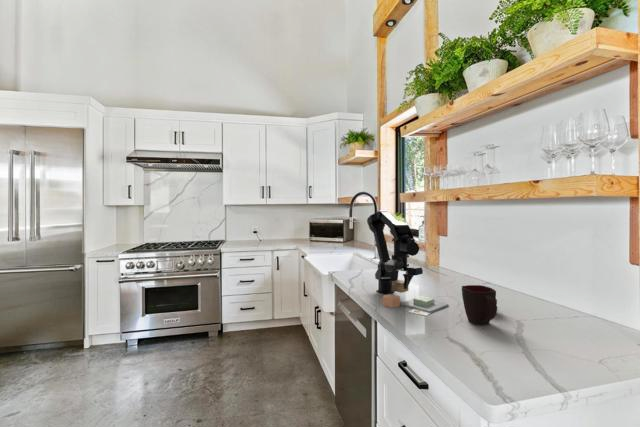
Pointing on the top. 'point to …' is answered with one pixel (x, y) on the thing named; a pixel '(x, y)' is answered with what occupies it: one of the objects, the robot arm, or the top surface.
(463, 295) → the cup
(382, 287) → the robot arm
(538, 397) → the top surface
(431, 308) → the plate
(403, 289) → the brown block
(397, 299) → the brick terracotta
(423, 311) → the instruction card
